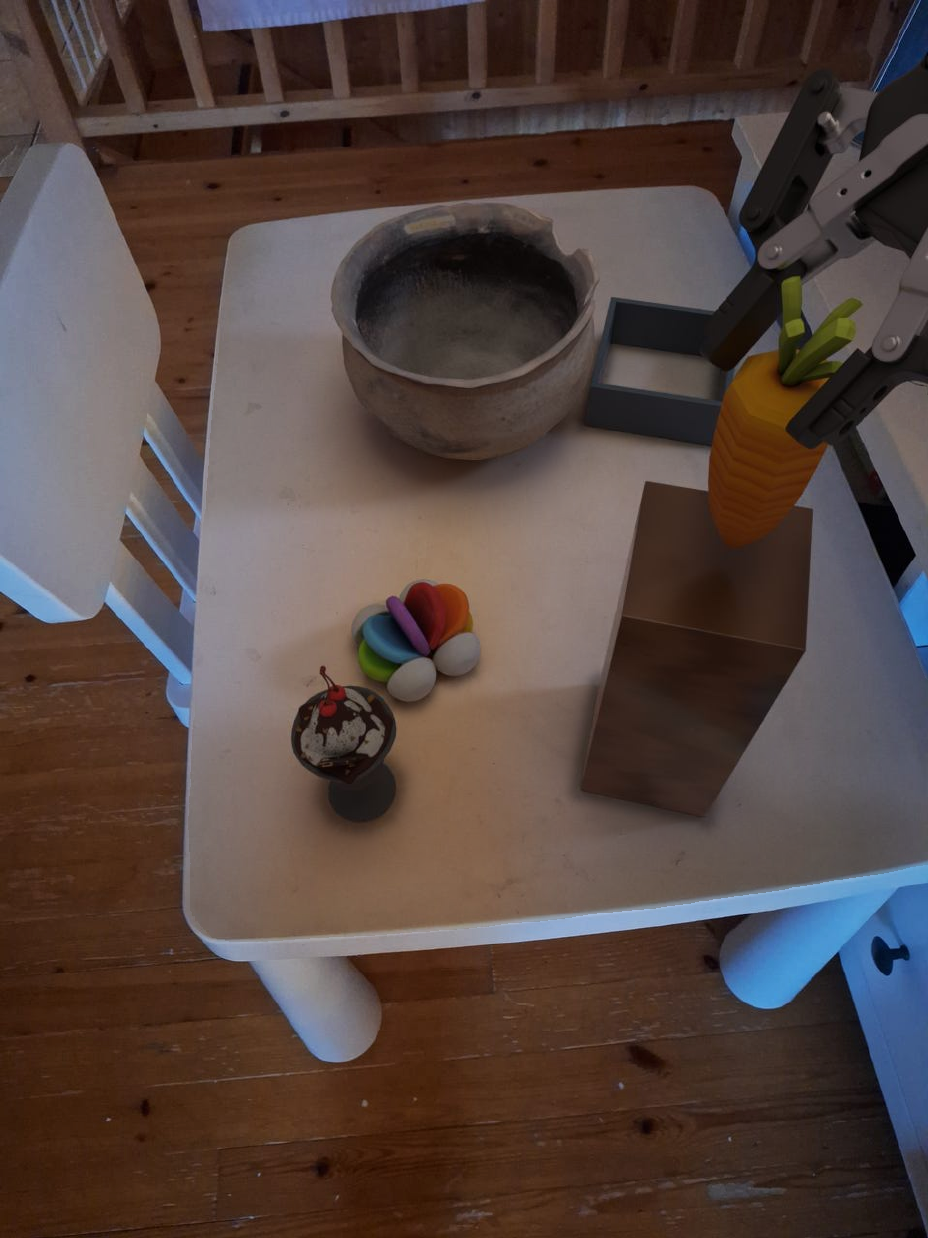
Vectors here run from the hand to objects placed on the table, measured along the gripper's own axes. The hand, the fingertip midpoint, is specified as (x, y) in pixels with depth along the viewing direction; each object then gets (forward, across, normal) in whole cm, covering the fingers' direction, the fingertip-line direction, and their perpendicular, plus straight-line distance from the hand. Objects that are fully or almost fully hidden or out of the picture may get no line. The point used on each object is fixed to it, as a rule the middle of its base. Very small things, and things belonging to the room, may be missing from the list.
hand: (755, 398), depth 36 cm
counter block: (+25, 0, +27) cm, 36 cm away
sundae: (+39, -9, +13) cm, 42 cm away
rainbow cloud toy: (+32, -16, +19) cm, 41 cm away
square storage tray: (+8, -29, +43) cm, 53 cm away
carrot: (+7, 0, +9) cm, 11 cm away
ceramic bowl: (+20, -36, +32) cm, 52 cm away
